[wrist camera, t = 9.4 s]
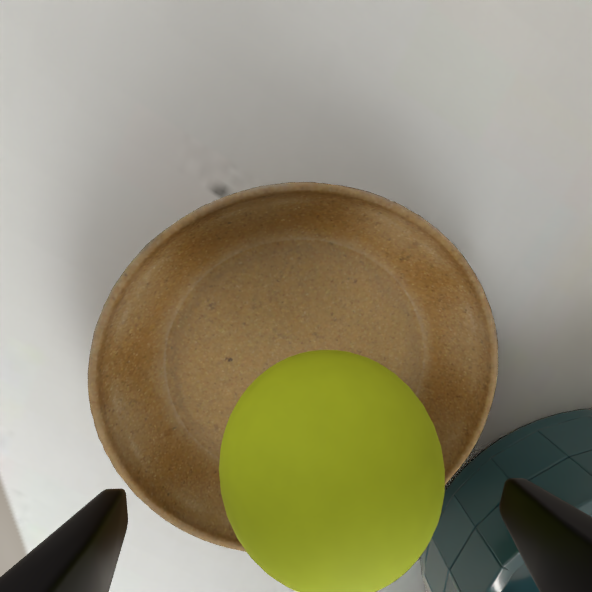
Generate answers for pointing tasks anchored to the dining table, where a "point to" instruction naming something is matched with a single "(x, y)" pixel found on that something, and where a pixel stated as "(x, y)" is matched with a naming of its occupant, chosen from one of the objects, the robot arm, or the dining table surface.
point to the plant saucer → (279, 331)
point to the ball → (332, 473)
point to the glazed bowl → (486, 499)
